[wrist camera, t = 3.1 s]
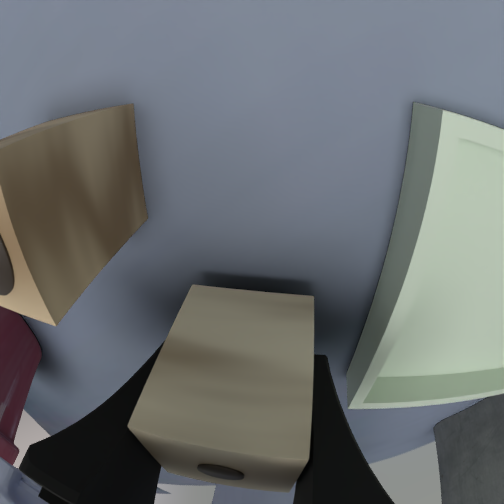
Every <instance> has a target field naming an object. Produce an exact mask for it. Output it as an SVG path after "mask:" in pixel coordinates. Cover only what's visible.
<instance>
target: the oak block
mask: <svg viewBox="0 0 504 504" xmlns="http://www.w3.org/2000/svg"><path fill="white" fill-rule="evenodd" d="M147 219H148V216H147V210H146V204H145V198H144V191H143V185H142V178H141V170H140V163H139V155H138V147H137V138H136V128H135V117H134V105H133V104H127V105H121V106H115V107H109V108H104V109H98V110H94V111H89V112H84V113H80V114H75V115H71V116H67V117H63V118H59V119H55V120H51V121H48V122H45V123H42V124H39V125H36V126H34V127H31V128H28V129H26V130H23V131H20V132H18V133H15V134H13V135H11V136H8V137H6V138H3V139H1V140H0V306H2V307H4V308H7V309H10V310H12V311H15V312H17V313H20V314H23V315H25V316H28V317H31V318H34V319H36V320H39V321H42V322H45V323H48V324H51V325H54V326H57V325H58V323H59V322H60V321H61V319H62V318H63V317H64V316H65V314H66V313H67V312H68V310H69V309H70V308H71V307H72V305H73V304H74V303H75V301H76V300H77V299H78V298H79V296H80V295H81V294H82V293H83V292H84V290H85V289H86V288H87V287H88V285H89V284H90V283H91V282H92V281H93V279H94V278H95V277H96V276H97V275H98V273H99V272H100V271H101V270H102V269H103V268H104V266H105V265H106V264H107V263H108V262H109V261H110V260H111V258H112V257H113V256H114V255H115V254H116V253H117V252H118V251H119V249H120V248H121V247H122V246H123V245H124V244H125V243H126V242H127V241H128V239H129V238H130V237H131V236H132V235H133V234H134V233H135V232H136V231H137V230H138V229H139V228H140V227H141V225H142V224H143V223H144V222H145V221H146V220H147Z"/></svg>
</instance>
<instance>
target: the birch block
mask: <svg viewBox="0 0 504 504" xmlns="http://www.w3.org/2000/svg"><path fill="white" fill-rule="evenodd" d="M313 369H314V296H307V295H295V294H283V293H272V292H261V291H250V290H240V289H230V288H220V287H211V286H202V285H193V284H192V286H191V288H190V290H189V292H188V294H187V296H186V298H185V300H184V302H183V304H182V306H181V308H180V311H179V313H178V315H177V317H176V319H175V321H174V323H173V325H172V327H171V329H170V332H169V334H168V336H167V338H166V340H165V342H164V344H163V347H162V349H161V351H160V353H159V355H158V357H157V360H156V362H155V364H154V366H153V368H152V371H151V373H150V375H149V377H148V379H147V382H146V384H145V386H144V388H143V391H142V393H141V395H140V398H139V400H138V402H137V404H136V407H135V409H134V411H133V414H132V416H131V418H130V421H129V423H128V425H127V426H128V428H129V429H130V430H131V431H132V433H133V434H134V435H135V436H136V438H137V439H138V440H139V441H140V442H141V443H142V445H143V446H144V447H145V448H146V449H147V450H148V451H149V453H150V454H151V455H152V456H153V457H154V458H155V459H156V460H157V461H158V462H159V464H160V465H161V466H162V467H163V468H164V469H165V470H166V471H167V472H169V473H173V474H177V475H180V476H184V477H188V478H193V479H197V480H201V481H206V482H211V483H216V484H221V485H227V486H233V487H240V488H247V489H254V490H263V491H273V492H286V493H289V492H290V490H291V489H292V487H293V485H294V484H295V482H296V481H297V479H298V477H299V476H300V474H301V472H302V471H303V469H304V467H305V465H306V464H307V462H308V460H309V452H310V438H311V421H312V400H313Z"/></svg>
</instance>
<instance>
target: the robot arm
mask: <svg viewBox="0 0 504 504" xmlns="http://www.w3.org/2000/svg"><path fill="white" fill-rule="evenodd" d="M164 342H165V341H164ZM164 342H163V343H162V345H161V346H160V347H159V348H158V349H157V350H156V351H155V353H154V354H153V355H152V356H151V357H150V358H149V359H148V360H147V361H146V363H145V364H144V365H143V366H142V367H141V368H140V369H139V370H138V371H137V372H136V373H135V374H134V375H133V376H132V377H131V378H130V379H129V380H128V381H127V382H126V383H125V384H124V385H123V386H122V387H121V388H120V389H119V390H118V391H117V392H116V393H114V394H113V395H112V396H111V397H110V398H109V399H107V400H106V401H105V402H104V403H103V404H101V405H100V406H99V407H98V408H96V409H95V410H94V411H92V412H91V413H89V414H88V415H86V416H85V417H84V418H82V419H81V420H79V421H78V422H76V423H74V424H73V425H71V426H69V427H67V428H66V429H64V430H62V431H60V432H58V433H57V434H54V435H52V436H50V437H48V438H46V439H44V440H41V441H39V442H37V443H34V444H32V445H30V446H29V448H28V450H27V452H26V454H25V456H24V458H23V460H22V463H21V464H20V467H19V469H18V468H16V467H14V466H13V465H11V464H10V463H8V462H7V461H6V460H4V459H3V458H2V457H0V504H154V500H155V495H156V489H157V484H158V479H159V474H160V470H161V465H160V464H159V462H158V461H157V460H156V459H155V458H154V457H153V456H152V455H151V454H150V453H149V451H148V450H147V449H146V448H145V447H144V446H143V445H142V443H141V442H140V441H139V440H138V439H137V438H136V436H135V435H134V434H133V433H132V431H131V430H130V429H129V428H128V426H127V425H128V423H129V421H130V418H131V416H132V414H133V411H134V409H135V407H136V404H137V402H138V400H139V398H140V395H141V393H142V391H143V388H144V386H145V384H146V382H147V379H148V377H149V375H150V373H151V371H152V368H153V366H154V364H155V362H156V360H157V357H158V355H159V353H160V351H161V349H162V347H163V344H164ZM212 504H394V502H393V501H392V499H391V498H390V497H389V495H388V494H387V493H386V491H385V490H384V489H383V487H382V485H381V484H380V483H379V481H378V479H377V478H376V476H375V474H374V473H373V471H372V470H371V468H370V467H369V465H368V463H367V461H366V459H365V458H364V456H363V454H362V452H361V450H360V448H359V446H358V444H357V442H356V440H355V438H354V436H353V434H352V431H351V429H350V427H349V424H348V422H347V420H346V417H345V415H344V412H343V409H342V407H341V404H340V401H339V398H338V395H337V392H336V389H335V386H334V383H333V379H332V376H331V372H330V368H329V363H328V358H327V356H325V355H316V354H314V369H313V400H312V421H311V438H310V452H309V460H308V462H307V464H306V465H305V467H304V469H303V471H302V472H301V474H300V476H299V477H298V479H297V481H296V482H295V484H294V485H293V487H292V489H291V490H290V492H289V493H286V492H273V491H263V490H254V489H247V488H240V487H233V486H227V485H221V484H216V488H215V493H214V497H213V501H212Z"/></svg>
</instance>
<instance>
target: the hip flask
mask: <svg viewBox="0 0 504 504" xmlns="http://www.w3.org/2000/svg"><path fill="white" fill-rule="evenodd" d="M434 434H435V441H436V448H437V455H438V463H439V472H440V482H441V497H442V504H504V393H503V394H499V395H494V396H489V397H487V398H485V399H484V400H482V401H480V402H478V403H477V404H475V405H473V406H471V407H469V408H467V409H465V410H463V411H461V412H459V413H457V414H455V415H452V416H450V417H448V418H446V419H444V420H442V421H440V422H439V423H438V424H436V425H435V427H434Z"/></svg>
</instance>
